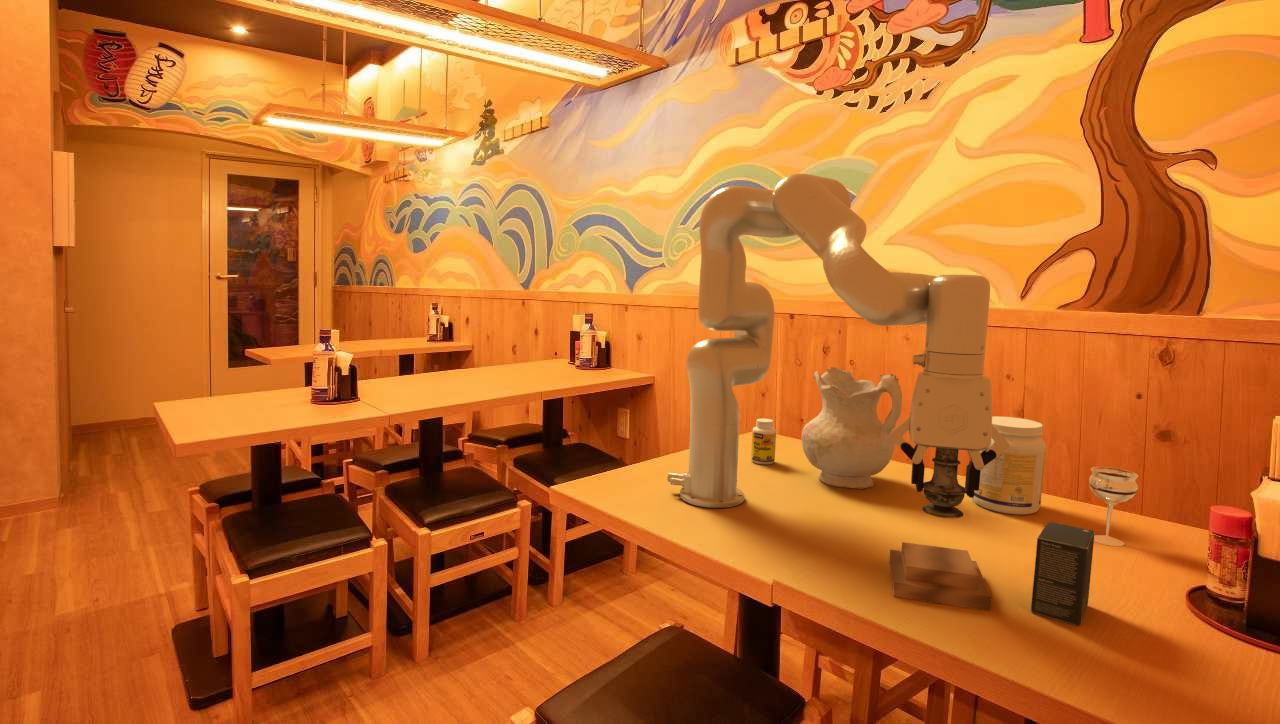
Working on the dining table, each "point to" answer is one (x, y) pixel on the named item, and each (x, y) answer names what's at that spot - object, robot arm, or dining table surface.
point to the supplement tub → (1014, 469)
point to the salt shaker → (944, 486)
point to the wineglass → (1112, 494)
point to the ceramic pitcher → (851, 429)
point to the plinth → (938, 576)
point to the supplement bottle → (763, 442)
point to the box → (1062, 572)
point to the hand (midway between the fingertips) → (943, 490)
